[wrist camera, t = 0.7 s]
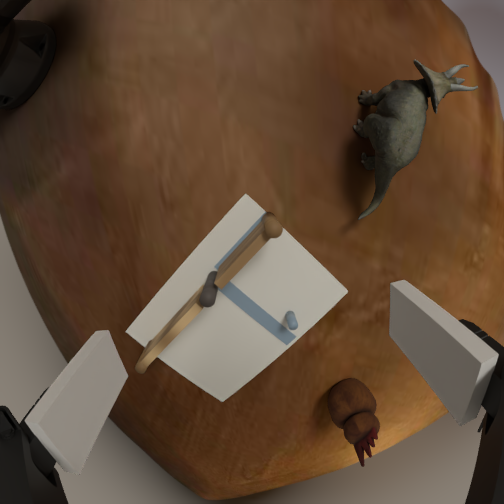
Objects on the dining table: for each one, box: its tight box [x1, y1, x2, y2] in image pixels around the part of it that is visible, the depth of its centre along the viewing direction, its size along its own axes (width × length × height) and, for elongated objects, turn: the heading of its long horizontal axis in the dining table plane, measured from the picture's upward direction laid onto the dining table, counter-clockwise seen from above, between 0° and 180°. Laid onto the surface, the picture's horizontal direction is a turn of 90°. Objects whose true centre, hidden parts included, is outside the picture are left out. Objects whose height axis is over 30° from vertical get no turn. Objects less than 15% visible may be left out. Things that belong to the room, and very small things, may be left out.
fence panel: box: [135, 285, 204, 374], centre depth 34 cm, size 12×1×6 cm, turn 137°
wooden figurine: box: [328, 378, 380, 466], centre depth 34 cm, size 7×6×15 cm
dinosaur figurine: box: [353, 60, 478, 220], centre depth 27 cm, size 22×8×11 cm, turn 146°
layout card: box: [126, 193, 348, 402], centre depth 36 cm, size 18×25×3 cm
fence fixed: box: [199, 212, 283, 307], centre depth 32 cm, size 2×11×8 cm, turn 137°
